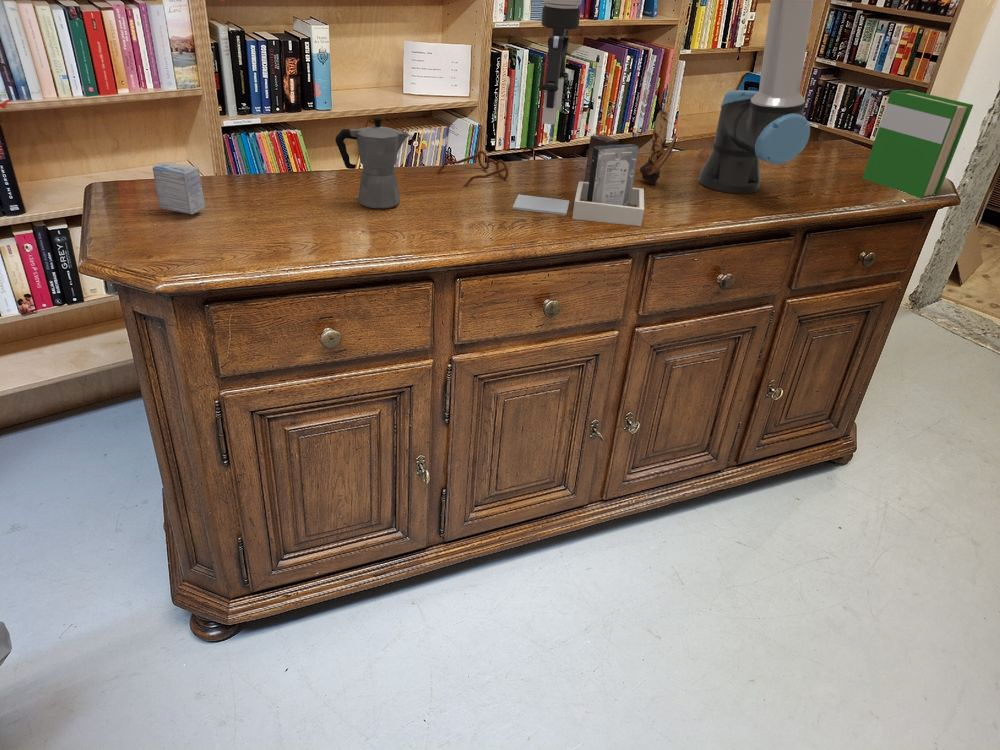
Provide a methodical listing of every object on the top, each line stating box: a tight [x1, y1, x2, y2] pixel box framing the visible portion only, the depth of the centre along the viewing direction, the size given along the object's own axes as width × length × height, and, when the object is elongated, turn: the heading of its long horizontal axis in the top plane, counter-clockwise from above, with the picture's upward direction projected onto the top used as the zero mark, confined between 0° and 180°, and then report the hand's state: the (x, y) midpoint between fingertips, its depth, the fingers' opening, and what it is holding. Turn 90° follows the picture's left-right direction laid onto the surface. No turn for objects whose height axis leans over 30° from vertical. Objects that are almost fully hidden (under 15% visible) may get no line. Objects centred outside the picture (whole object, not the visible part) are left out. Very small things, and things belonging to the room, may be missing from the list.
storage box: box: [572, 180, 645, 227], centre depth 167 cm, size 15×15×4 cm
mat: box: [512, 194, 570, 216], centre depth 168 cm, size 12×9×1 cm
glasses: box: [436, 150, 509, 188], centre depth 183 cm, size 13×13×5 cm
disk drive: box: [586, 143, 639, 207], centre depth 164 cm, size 10×3×15 cm, turn 114°
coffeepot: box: [335, 116, 410, 209], centre depth 158 cm, size 15×9×18 cm, turn 107°
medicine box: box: [152, 161, 206, 215], centre depth 149 cm, size 8×4×9 cm, turn 71°
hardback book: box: [861, 89, 974, 200], centre depth 192 cm, size 18×7×24 cm, turn 30°
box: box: [583, 134, 620, 182], centre depth 180 cm, size 6×4×12 cm
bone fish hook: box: [639, 110, 677, 185], centre depth 182 cm, size 9×5×18 cm, turn 14°
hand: (551, 116), depth 158 cm, fingers open, 13 cm apart
